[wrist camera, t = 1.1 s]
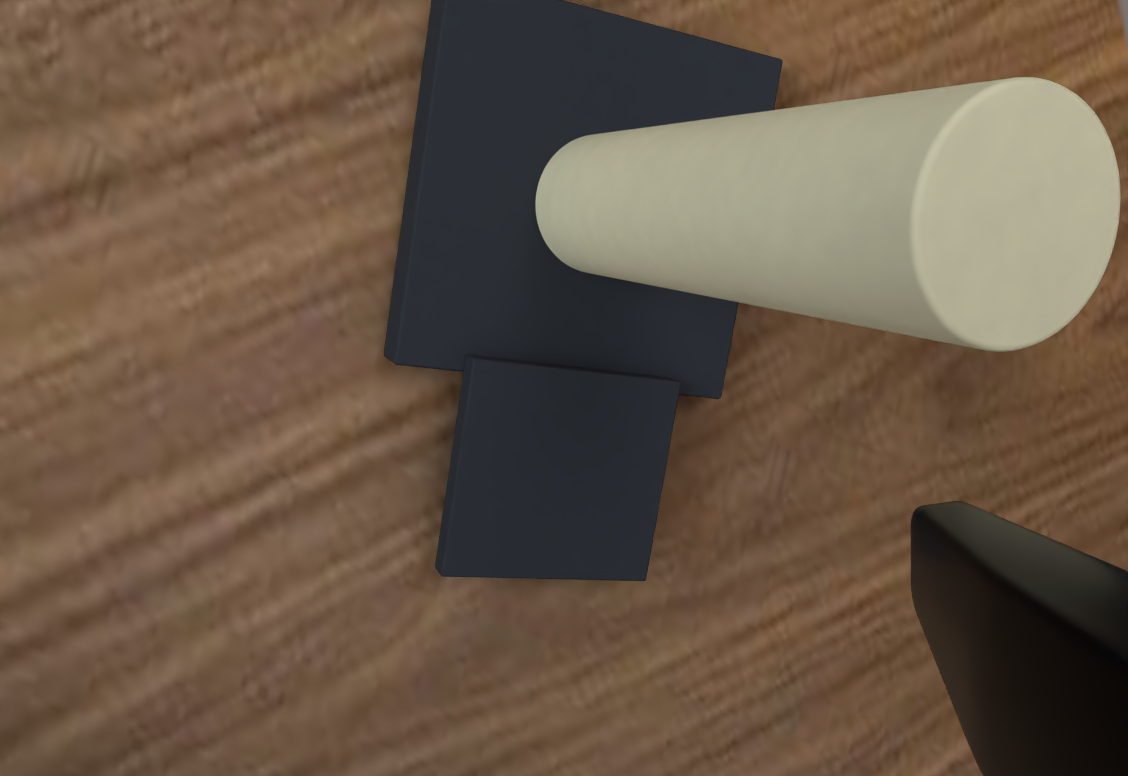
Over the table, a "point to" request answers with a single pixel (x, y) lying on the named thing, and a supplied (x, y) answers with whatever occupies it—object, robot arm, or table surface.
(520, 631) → the table surface
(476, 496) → the tongue pad
